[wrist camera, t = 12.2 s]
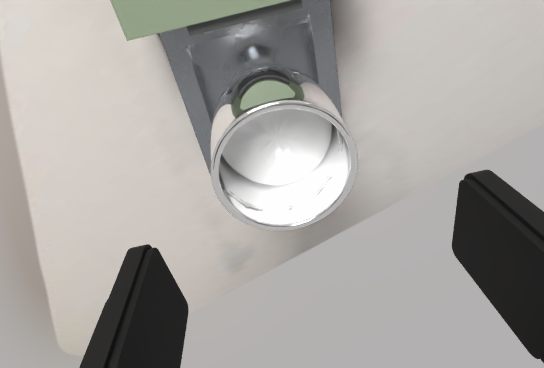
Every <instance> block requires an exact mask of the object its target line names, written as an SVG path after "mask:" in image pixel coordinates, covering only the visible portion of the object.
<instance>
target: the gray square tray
mask: <svg viewBox="0 0 544 368" xmlns="http://www.w3.org/2000/svg"><path fill="white" fill-rule="evenodd" d="M302 6H303V8H302V9H298V10H294V11H290V12H286V13H282V14H278V15H274V16H270V17H266V18H261V19H257V20H253V21H249V22H245V23H241V24H237V25H233V26H229V27H225V28H221V29H217V30H213V31H209V32H205V33H201V34H197V35H193V36H189V33H188V30H187V27H186V26H185V27H181V28H177V29H173V30H169V31H165V32H161V33H159V35H160V38H161V41H162V43H163V46H164V49H165V52H166V54H167V57H168V60H169V63H170V65H171V68H172V71H173V74H174V76H175V79H176V82H177V85H178V87H179V90H180V93H181V96H182V98H183V101H184V104H185V107H186V109H187V112H188V115H189V118H190V120H191V123H192V126H193V129H194V131H195V134H196V137H197V140H198V142H199V145H200V148H201V151H202V153H203V156H204V159H205V162H206V164H207V167H208V170H209V173H210V175H211V151H210V137H211V125H212V120H213V116H214V112H215V108H216V105H217V103H218V101H219V99H220V97H221V95H222V93H223V91H224V90H225V89H224V76H225V72H226V69H227V67H228V65H229V63H230V61H231V60H232V59H233V58H234V56H235V55H237V54H238V53H239V52H240V51H242V50H244V49H246V48H248V47H251V46H255V45H268V46H272V47H275V48H277V49H279V50H281V51H282V52H284V53H285V54H286V55H287V56H288V57H289V58H290V59H291V61H292V62H293V64H294V66H295V69H296V70H298V71H300V72H302V73H304V74H306V75H307V76H309V77H310V78H311V79H313V80H314V81H315V82H316V83H317V84H318V85H319V86H320V87H321V88H322V89H323V90H324V91H325V93H326V94H327V95H328V97H329V98H330V99H331V101H332V102H333V104H334V105H335V107H336V109H337V110H338V112H339V114H340V116H341V118H342V113H341V103H340V94H339V84H338V74H337V65H336V55H335V45H334V36H333V26H332V16H331V7H330V0H302Z"/></svg>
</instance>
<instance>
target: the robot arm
mask: <svg viewBox="0 0 544 368" xmlns="http://www.w3.org/2000/svg"><path fill="white" fill-rule="evenodd" d="M452 249H453V252H454V254H455V256H456V258H457V259H458V260H459V262H460V263H461V264H462V265H463V267H464V268H465V269H466V271H467V272H468V273H469V274H470V276H471V277H472V278H473V280H474V281H475V282H476V284H477V285H478V286H479V288H480V289H481V290H482V292H483V293H484V294H485V295H486V297H487V298H488V299H489V300H490V302H491V303H492V305H493V306H494V307H495V308H496V310H497V311H498V312H499V314H500V315H501V316H502V318H503V319H504V320H505V322H506V323H507V324H508V325H509V327H510V328H511V329H512V331H513V332H514V333H515V335H516V336H517V337H518V339H519V340H520V341H521V342H522V344H523V345H524V346H525V348H526V349H527V350H528V351H529V353H530V354H531V355H532V356H533V357H535V358H537V359H541V360H542V361H543V362H544V212H543V211H542V210H541V209H539V208H538V207H537V206H535V205H534V204H533V203H531V202H530V201H529V200H528V199H526V198H525V197H524V196H522V195H521V194H520V193H519V192H517V191H516V190H515V189H513V188H512V187H511V186H510V185H509V184H507V183H506V182H505V181H503V180H502V179H501V178H499V177H498V176H497V175H496V174H494V173H493V172H492V171H490V170H483V171H479V172H474V173H469V174H467V175H466V176H465V177H464V180H461V181H460V183H459V190H458V198H457V207H456V215H455V224H454V232H453V240H452ZM187 318H188V304H187V301H186V299H185V298H184V296H183V294H182V292H181V290H180V289H179V287H178V285H177V283H176V281H175V279H174V278H173V276H172V274H171V272H170V270H169V268H168V267H167V265H166V263H165V261H164V259H163V258H162V256H161V254H160V252H159V250H158V249H157V248H152V247H151V246H150V245H143V246H138V247H134V248H130V249H129V250H128V251H127V254H126V256H125V259H124V261H123V264H122V266H121V269H120V271H119V274H118V276H117V279H116V281H115V284H114V286H113V289H112V291H111V294H110V296H109V299H108V300H107V302H106V303H105V306H104V308H103V311H102V313H101V315H100V318H99V320H98V323H97V325H96V328H95V330H94V333H93V335H92V338H91V340H90V343H89V345H88V348H87V350H86V353H85V355H84V358H83V360H82V363H81V365H80V368H180V365H181V359H182V351H183V345H184V338H185V331H186V324H187Z"/></svg>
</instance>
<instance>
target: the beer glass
mask: <svg viewBox="0 0 544 368" xmlns="http://www.w3.org/2000/svg"><path fill="white" fill-rule="evenodd" d="M224 89H225V90H224V91H223V93H222V95H221V97H220V99H219V101H218V103H217V105H216V108H215V112H214V116H213V120H212V125H211V137H210V151H211V180H212V185H213V188H214V191H215V193H216V195H217V197H218V199H219V201H220V202H221V204H222V205H223V206H224V207H225V209H226V210H227V211H228V212H229V213H230V214H232V215H233V216H234V217H236V218H237V219H239V220H240V221H242V222H244V223H246V224H248V225H250V226H253V227H256V228H260V229H264V230H272V231H286V230H294V229H299V228H302V227H305V226H308V225H311V224H313V223H315V222H317V221H319V220H321V219H323V218H324V217H326V216H327V215H329V214H330V213H331V212H333V211H334V210H335V209H336V208H337V207H338V206H339V205H340V204H341V203H342V202H343V200H344V199H345V198H346V196H347V195H348V193H349V191H350V190H351V188H352V186H353V183H354V181H355V177H356V173H357V167H358V154H357V148H356V144H355V141H354V139H353V137H352V134H351V133H350V131H349V129H348V128H347V127H346V125H345V124H344V122H343V119H342V118H341V116H340V114H339V112H338V110H337V109H336V107H335V105H334V104H333V102H332V101H331V99H330V98H329V97H328V95H327V94H326V93H325V91H324V90H323V89H322V88H321V87H320V86H319V85H318V84H317V83H316V82H315V81H314V80H313V79H311V78H310V77H309V76H307V75H306V74H304V73H302V72H300V71H298V70H296V69H295V66H294V64H293V62H292V61H291V59H290V58H289V57H288V56H287V55H286V54H285V53H284V52H282V51H281V50H279V49H277V48H275V47H272V46H268V45H255V46H251V47H248V48H246V49H244V50H242V51H240V52H239V53H238V54H237V55H235V56H234V58H233V59H232V60H231V61H230V63H229V65H228V67H227V69H226V72H225V76H224Z"/></svg>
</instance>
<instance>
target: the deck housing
mask: <svg viewBox="0 0 544 368" xmlns="http://www.w3.org/2000/svg"><path fill="white" fill-rule="evenodd" d="M110 1H111V3H112V6H113V8H114V10H115V13H116V15H117V18H118V20H119V22H120V25H121V27H122V30H123V32H124V35H125V37H126V39H127V41H129V40H133V39H137V38H141V37H145V36H149V35H153V34H157V33H161V32H165V31H169V30H173V29H177V28H181V27H185V26H186V27H187V30H188V33H189V36H193V35H197V34H201V33H205V32H209V31H213V30H217V29H221V28H225V27H229V26H233V25H237V24H241V23H245V22H249V21H253V20H257V19H261V18H266V17H270V16H274V15H278V14H282V13H286V12H290V11H294V10H298V9H302V8H303V6H302V0H110Z"/></svg>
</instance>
